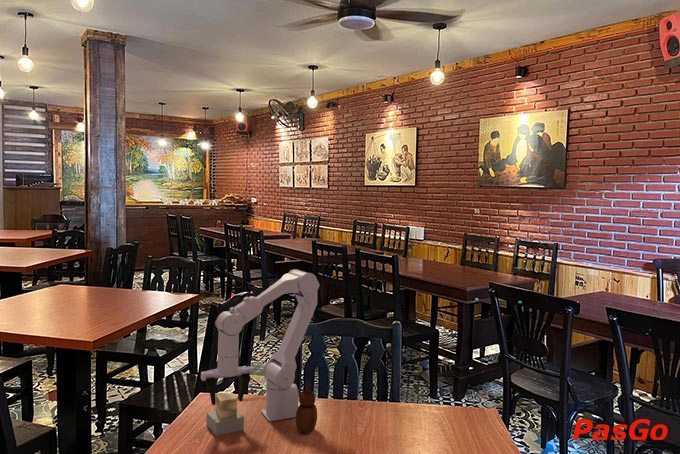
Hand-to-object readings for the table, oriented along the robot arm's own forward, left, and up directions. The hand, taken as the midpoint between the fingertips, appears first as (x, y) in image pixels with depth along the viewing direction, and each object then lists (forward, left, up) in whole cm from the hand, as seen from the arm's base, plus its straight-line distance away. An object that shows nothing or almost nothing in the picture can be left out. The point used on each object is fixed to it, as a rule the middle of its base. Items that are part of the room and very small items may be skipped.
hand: (226, 401), depth 145 cm
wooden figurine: (-20, +11, -7) cm, 24 cm away
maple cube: (0, 0, -3) cm, 3 cm away
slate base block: (0, 0, -7) cm, 7 cm away
